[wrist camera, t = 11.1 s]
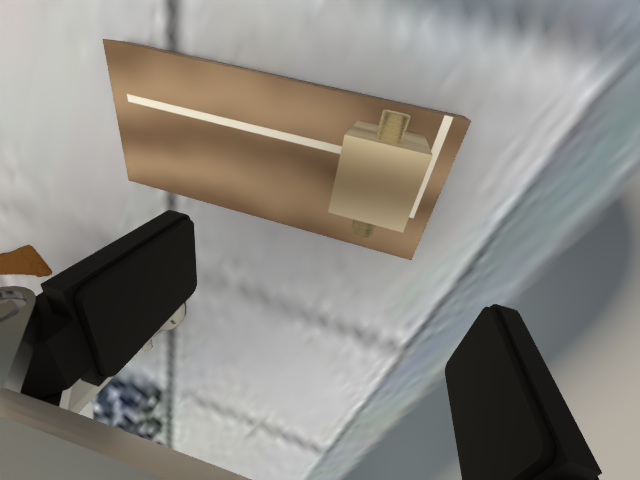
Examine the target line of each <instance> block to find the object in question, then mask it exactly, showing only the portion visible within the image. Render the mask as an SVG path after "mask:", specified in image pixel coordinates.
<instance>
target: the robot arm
mask: <svg viewBox="0 0 640 480" xmlns="http://www.w3.org/2000/svg"><path fill="white" fill-rule="evenodd" d="M40 285H41V287H42V289H43V292H42V293H41V294H39V295H37V296H36V295H35V294H34V292H33V291H32V290H30V289H28V288H25V287H18V286H8V287H0V480H251V479H249V478H246V477H243V476H241V475H238V474H236V473H233V472H230V471H228V470H225V469H222V468H220V467H217V466H215V465H212V464H209V463H207V462H204V461H202V460H199V459H196V458H194V457H191V456H189V455H186V454H183V453H181V452H178V451H175V450H173V449H170V448H167V447H165V446H162V445H159V444H157V443H154V442H152V441H149V440H146V439H144V438H141V437H138V436H136V435H133V434H130V433H128V432H125V431H122V430H120V429H117V428H114V427H112V426H109V425H106V424H104V423H101V422H98V421H96V420H93V419H91V418H88V417H85V416H83V415H80V414H78V413H79V412H80V411H81V410H82V409H83V408H84V407H85V406H86V405H87V404H88V403H89V402H90V401H91V400H92V399H93V398H94V396H95V395H96V394H97V393H98V392H99V391H100V390H101V389H102V388H103V387H104V386H105V385H106V384H107V383H108V382H109V381H110V380H111V379H112V378H113V377H114V375H116V374H117V373H118V372H119V371H120V370H121V369H122V368H123V367H124V366H125V365H126V364H127V363H128V362H129V361H130V360H131V359H132V357H133V356H134V355H135V354H136V353H137V352H138V351H139V350H140V349H141V348H142V349H143V350H144V351H148V350H150V349H152V347H153V345H152V340H151V339H152V338H153V337H154V336H155V335H156V334H157V333H158V332H159V331H165V330H170V329H173V328H175V327H176V326H177V325H178V324H179V323H180V322H181V321H182V319H183V317H184V314H185V304H184V302H185V301H186V300H187V299H188V298H189V297H190V296H191V295H192V294H193V293H194V291H195V289H196V286H197V274H196V255H195V235H194V223H193V221H191V220H190V218H189V216H188V215H186V214H183V213H179V212H176V211H172V210H168V211H166V212H164V213H163V214H161V215H159V216H157V217H156V218H154V219H152V220H151V221H149V222H147V223H145V224H144V225H142V226H140V227H138V228H137V229H135V230H133V231H132V232H130V233H128V234H126V235H125V236H123V237H121V238H119V239H118V240H116V241H114V242H113V243H111V244H109V245H107V246H106V247H104V248H102V249H100V250H99V251H97V252H95V253H94V254H92V255H90V256H88V257H87V258H85V259H83V260H82V261H80V262H78V263H76V264H75V265H73V266H71V267H69V268H68V269H66V270H64V271H63V272H61V273H59V274H57V275H56V276H54V277H52V278H50V279H49V280H47V281H45V282H44V283H42V284H40ZM445 376H446V383H447V389H448V395H449V401H450V407H451V413H452V419H453V425H454V431H455V438H456V444H457V450H458V456H459V463H460V469H461V475H462V480H599V478H598V475H600V474H601V473H602V472H601V470H600V468H599V466H598V464H597V462H596V460H595V458H594V456H593V455H592V453H591V451H590V449H589V447H588V445H587V443H586V441H585V439H584V437H583V435H582V433H581V431H580V430H579V428H578V426H577V424H576V422H575V420H574V418H573V416H572V414H571V412H570V410H569V408H568V406H567V404H566V402H565V400H564V399H563V397H562V395H561V393H560V391H559V389H558V387H557V385H556V383H555V381H554V379H553V378H552V375H551V374H550V372H549V370H548V368H547V366H546V364H545V362H544V360H543V358H542V356H541V354H540V352H539V350H538V349H537V347H536V345H535V343H534V341H533V339H532V337H531V335H530V333H529V331H528V329H527V327H526V325H525V323H524V322H523V320H522V318H521V316H520V314H519V313H518V311H516V310H514V309H511V308H507V307H504V306H500V305H497V304H493V305H492V306H490V307H485V308H484V309H483V310H482V311H481V313H480V314H479V316H478V317H477V319H476V320H475V322H474V323H473V325H472V326H471V328H470V329H469V331H468V332H467V334H466V335H465V337H464V338H463V340H462V341H461V343H460V344H459V346H458V347H457V349H456V350H455V351H454V353H453V354H452V356H451V357H450V359H449V360H448V362H447V364H446V368H445Z"/></svg>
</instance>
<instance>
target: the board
mask: <svg viewBox="0 0 640 480" xmlns="http://www.w3.org/2000/svg"><path fill="white" fill-rule="evenodd" d="M103 44H104V49H105V54H106V60H107V65H108V71H109V76H110V81H111V87H112V92H113V98H114V103H115V109H116V114H117V119H118V125H119V130H120V136H121V141H122V146H123V152H124V157H125V163H126V168H127V173H128V179H129V181H133V182H136V183H140V184H144V185H147V186H151V187H154V188H158V189H161V190H165V191H168V192H172V193H175V194H179V195H182V196H186V197H190V198H193V199H197V200H200V201H204V202H207V203H211V204H214V205H218V206H221V207H225V208H228V209H232V210H235V211H239V212H243V213H246V214H250V215H253V216H257V217H260V218H264V219H267V220H271V221H274V222H278V223H281V224H285V225H289V226H292V227H296V228H299V229H303V230H306V231H310V232H313V233H317V234H320V235H324V236H327V237H331V238H334V239H338V240H342V241H345V242H349V243H352V244H356V245H359V246H363V247H366V248H370V249H373V250H377V251H380V252H384V253H388V254H391V255H395V256H398V257H402V258H405V259H409V260H412V257H413V255H414V253H415V250H416V248H417V246H418V243H419V241H420V239H421V236H422V234H423V232H424V229H425V227H426V225H427V222H428V220H429V218H430V215H431V213H432V211H433V208H434V206H435V204H436V201H437V199H438V197H439V194H440V192H441V190H442V187H443V185H444V183H445V180H446V178H447V176H448V173H449V171H450V169H451V167H452V164H453V162H454V160H455V157H456V155H457V153H458V150H459V148H460V146H461V143H462V141H463V139H464V136H465V134H466V132H467V129H468V127H469V125H470V122H471V121H470V120H469V119H467V118H466V117H464V116H460V115H455V114H450V113H446V112H441V111H437V110H432V109H428V108H423V107H419V106H414V105H410V104H405V103H401V102H396V101H392V100H387V99H383V98H378V97H374V96H369V95H365V94H360V93H356V92H351V91H347V90H342V89H338V88H333V87H329V86H324V85H320V84H315V83H311V82H306V81H302V80H297V79H293V78H288V77H284V76H279V75H275V74H270V73H266V72H261V71H257V70H252V69H248V68H243V67H239V66H234V65H230V64H225V63H221V62H216V61H211V60H207V59H202V58H198V57H193V56H189V55H184V54H180V53H175V52H171V51H166V50H162V49H157V48H153V47H148V46H144V45H139V44H135V43H130V42H124V41H116V40H108V39H103ZM383 110H391V111H396V112H400V113H404V114H407V115H410V116H411V117H410V120H409V123H408V126H407V129H406V132H410V133H415V134H419V135H423V136H425V137H426V140H427V142H428V145H429V147H430V150H431V152H432V155H433V156H432V159H431V162H430V164H429V167H428V169H427V172H426V175H425V177H424V180H423V182H422V185H421V187H420V190H419V193H418V195H417V198H416V200H415V203H414V206H413V208H412V211H411V213H410V216H409V219H408V221H407V224H406V226H405V229H404V232H403V233H402V232H398V231H395V230H391V229H387V228H384V227H380V226H376V225H375V229H374V232H373V235H372V236H371V237H360V236H357V235H355V234H354V233H353V232H352V231H351V227H352V223H353V219H351V218H347V217H343V216H340V215H336V214H332V213H329V212H328V210H329V205H330V201H331V196H332V191H333V187H334V182H335V177H336V173H337V168H338V163H339V159H340V154H341V149H342V145H343V140H344V135H345V134H346V133H347V131H348V130H349V129H350V128H351V127H352V126H353V125H354V124H355V123H356V122H357V121H358V120H359V121H363V122H367V123H371V124H376V125H379V123H380V120H381V116H382V112H383Z"/></svg>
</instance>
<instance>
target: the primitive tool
mask: <svg viewBox="0 0 640 480" xmlns="http://www.w3.org/2000/svg"><path fill="white" fill-rule="evenodd" d="M3 274H5V275H6V274H25V275H36V276H37V277H42V276H49V275H50V274H52V271H51V269H50V268H49V267H48V265H47V264H46V263H45V262H44V260H43V259H42V258H41V256H40V255H39V254H38V253H37V251H36V250H35V249H34V248H33V247H32V246H30V245H27V246H23V247H21V248H18V249H16V250H14V251H12V252H9V253H2V254H0V275H3Z"/></svg>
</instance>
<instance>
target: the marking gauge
mask: <svg viewBox="0 0 640 480" xmlns="http://www.w3.org/2000/svg"><path fill="white" fill-rule="evenodd" d="M410 117H411V116H410V115H407V114H404V113H400V112H396V111H391V110H383V112H382V116H381V120H380V123H379V125H376V124H371V123H367V122H363V121H359V120H358V121H357V122H356V123H355V124H354V125H353V126H352V127H351V128H350V129H349V130H348V131H347V133H346V134H345V135H344V140H343V145H342V149H341V154H340V159H339V163H338V168H337V173H336V177H335V182H334V187H333V191H332V196H331V201H330V205H329V210H328V212H329V213H332V214H336V215H340V216H343V217H347V218H351V219H353V223H352V227H351V231H352V232H353V233H354V234H355V235H357V236H360V237H371V236H372V235H373V232H374V229H375V225H376V226H380V227H384V228H387V229H391V230H395V231H398V232H402V233H403V232H404V229H405V226H406V224H407V221H408V219H409V216H410V213H411V211H412V208H413V206H414V203H415V200H416V198H417V195H418V193H419V190H420V187H421V185H422V182H423V180H424V177H425V175H426V172H427V169H428V167H429V164H430V162H431V159H432V156H433V155H432V152H431V150H430V147H429V145H428V142H427V140H426V137H425V136H423V135H419V134H415V133H410V132H406V129H407V126H408V123H409V120H410Z"/></svg>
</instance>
